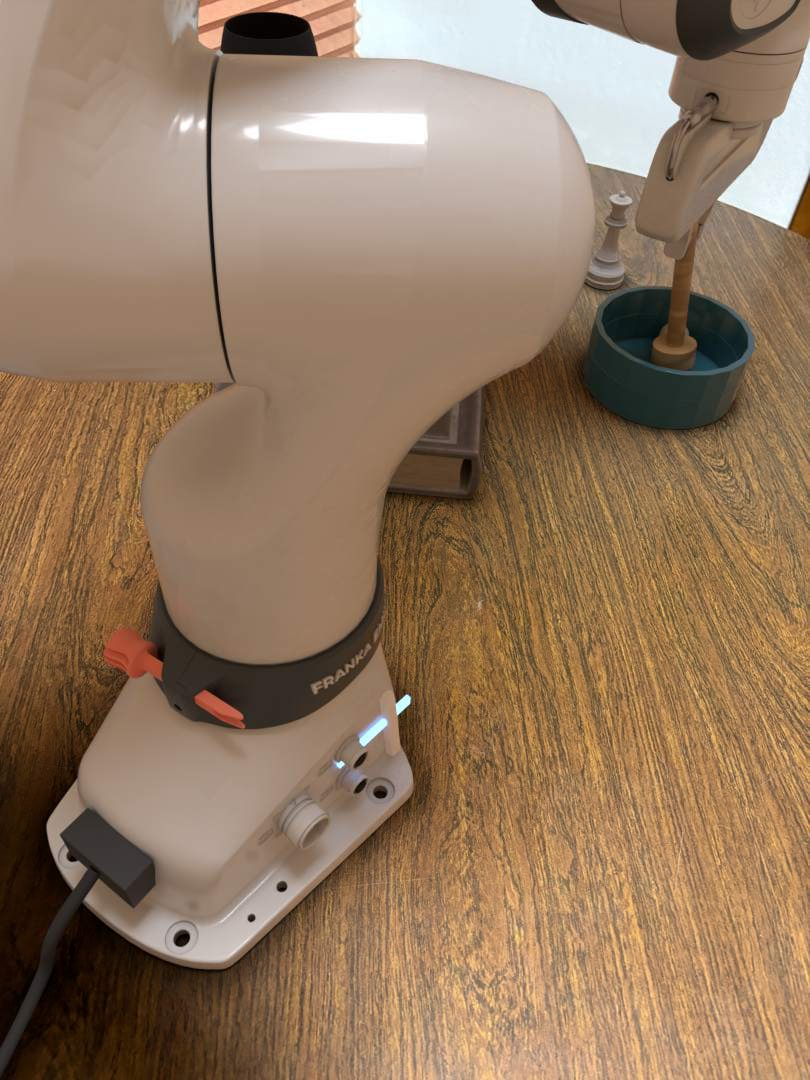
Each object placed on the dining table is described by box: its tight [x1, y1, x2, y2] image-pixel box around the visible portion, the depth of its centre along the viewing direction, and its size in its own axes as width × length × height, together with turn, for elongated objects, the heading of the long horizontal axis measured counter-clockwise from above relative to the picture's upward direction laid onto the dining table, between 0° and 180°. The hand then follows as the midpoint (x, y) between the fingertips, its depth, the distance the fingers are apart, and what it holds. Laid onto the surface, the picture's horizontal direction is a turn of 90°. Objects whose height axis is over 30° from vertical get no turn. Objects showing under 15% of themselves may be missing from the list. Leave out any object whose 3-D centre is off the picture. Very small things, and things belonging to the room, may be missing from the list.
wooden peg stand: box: [651, 219, 699, 371], centre depth 76 cm, size 4×4×17 cm
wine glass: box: [219, 11, 319, 57], centre depth 94 cm, size 10×10×20 cm
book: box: [212, 383, 486, 500], centre depth 79 cm, size 30×22×5 cm
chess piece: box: [584, 189, 633, 291], centre depth 91 cm, size 4×4×10 cm
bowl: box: [582, 285, 756, 430], centre depth 80 cm, size 14×14×6 cm
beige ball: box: [659, 324, 689, 336], centre depth 84 cm, size 3×3×3 cm
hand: (681, 248), depth 75 cm, fingers closed on wooden peg stand, 2 cm apart
